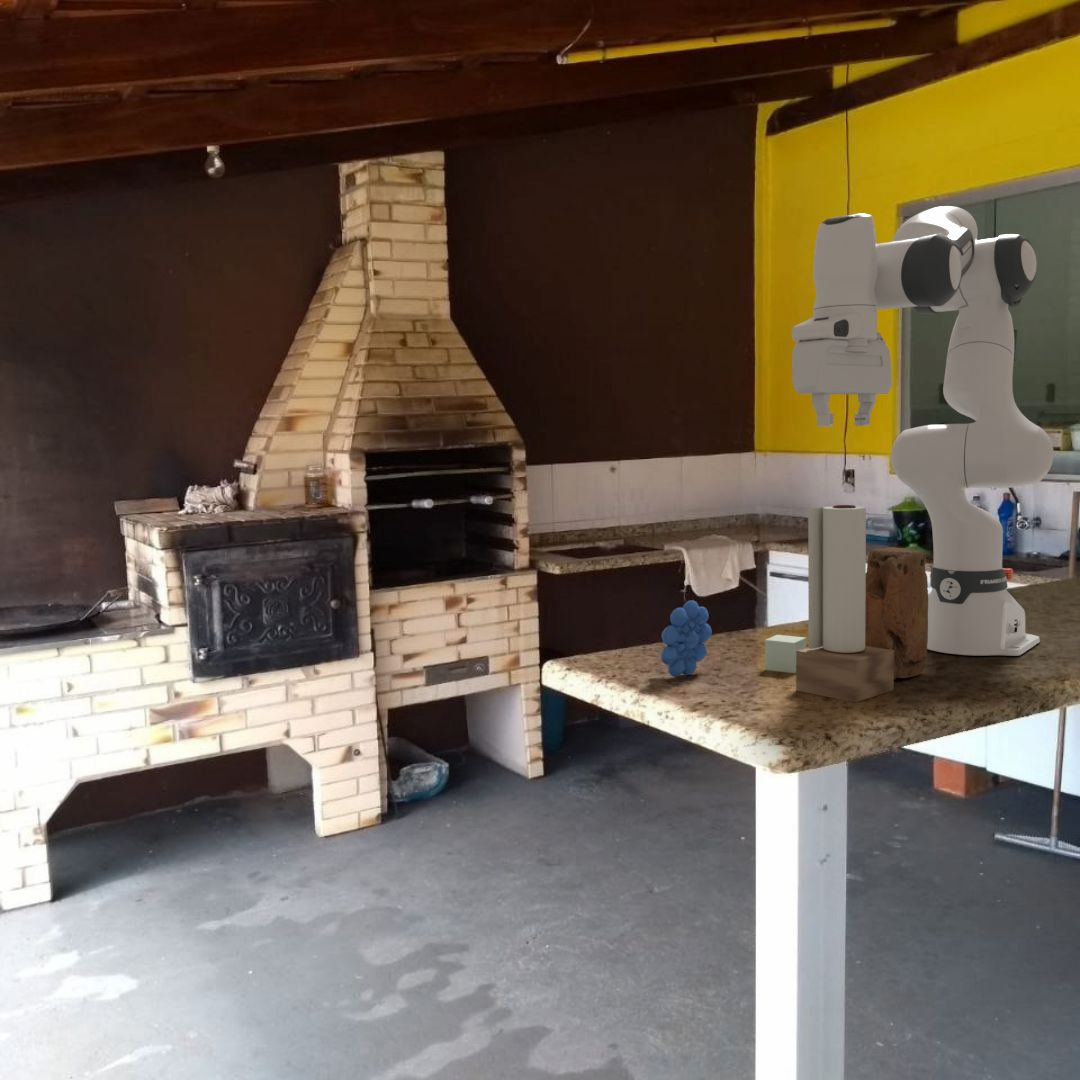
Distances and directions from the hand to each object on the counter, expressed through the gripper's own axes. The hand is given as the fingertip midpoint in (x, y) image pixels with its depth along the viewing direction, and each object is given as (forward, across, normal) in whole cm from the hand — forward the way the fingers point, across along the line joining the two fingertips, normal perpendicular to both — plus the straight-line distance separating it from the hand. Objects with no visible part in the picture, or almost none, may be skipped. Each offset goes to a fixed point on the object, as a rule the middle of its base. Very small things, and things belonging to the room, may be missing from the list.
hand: (844, 426), depth 152 cm
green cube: (+39, -6, -14) cm, 42 cm away
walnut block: (+39, 0, 0) cm, 39 cm away
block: (+39, -13, 0) cm, 41 cm away
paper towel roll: (+33, 0, 0) cm, 33 cm away
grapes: (+39, +9, -24) cm, 47 cm away
